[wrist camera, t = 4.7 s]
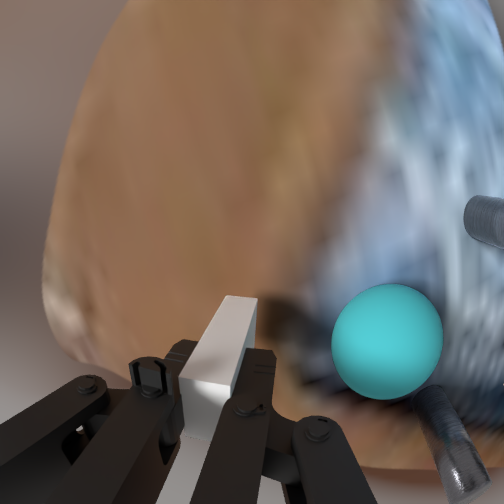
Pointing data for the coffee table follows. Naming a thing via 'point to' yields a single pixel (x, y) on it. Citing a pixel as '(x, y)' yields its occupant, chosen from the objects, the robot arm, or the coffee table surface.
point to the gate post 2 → (485, 219)
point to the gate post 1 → (450, 447)
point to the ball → (387, 341)
